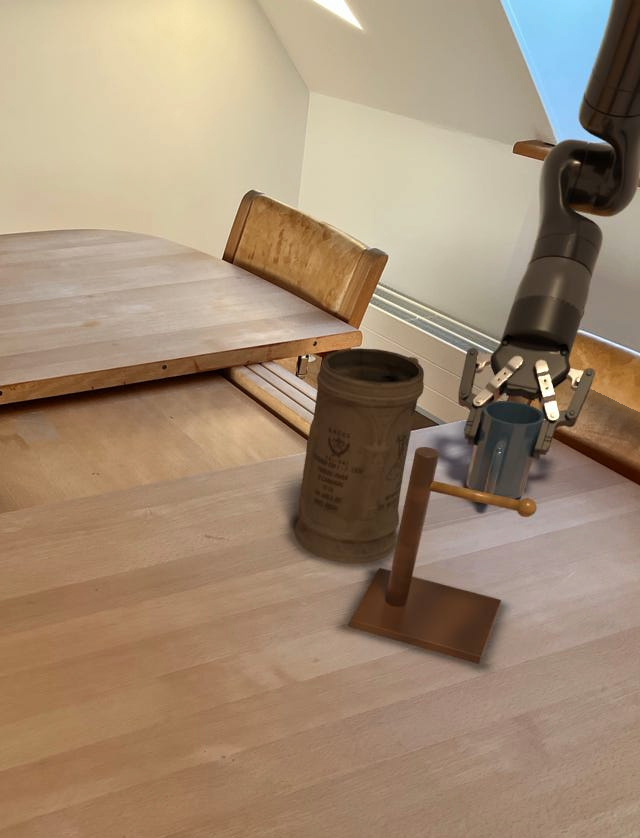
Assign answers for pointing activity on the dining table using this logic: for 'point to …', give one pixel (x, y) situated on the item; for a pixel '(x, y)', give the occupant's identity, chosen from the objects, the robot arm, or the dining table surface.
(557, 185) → the robot arm
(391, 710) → the dining table surface
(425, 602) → the mug stand
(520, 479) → the mug
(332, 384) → the beer stein
